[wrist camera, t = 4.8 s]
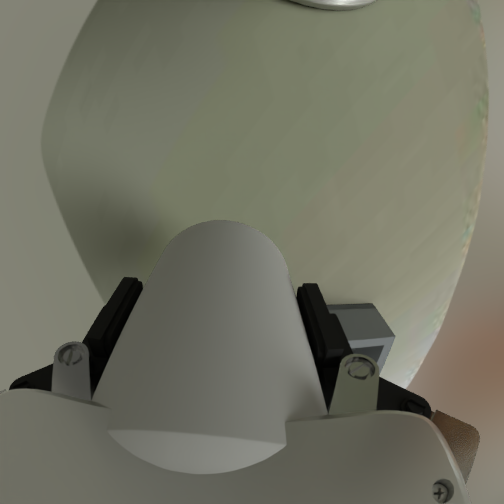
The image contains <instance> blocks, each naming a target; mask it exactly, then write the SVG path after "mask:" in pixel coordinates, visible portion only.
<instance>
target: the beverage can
mask: <svg viewBox="0 0 504 504" xmlns="http://www.w3.org/2000/svg"><path fill="white" fill-rule="evenodd" d="M91 401H94V402H99V403H101V404H103V405H105V406H107V407H109V408H111V409H113V410H112V413H111V417H110V420H109V423H108V427H107V432H108V433H109V434H110V435H111V436H112V437H113V439H114V440H115V441H117V442H118V443H119V444H120V445H121V446H122V447H124V448H125V449H126V450H127V451H129V452H130V453H132V454H133V455H135V456H137V457H138V458H140V459H142V460H144V461H147V462H149V463H151V464H154V465H156V466H158V467H161V468H164V469H167V470H171V471H177V472H183V473H190V474H214V473H224V472H230V471H234V470H238V469H241V468H245V467H248V466H251V465H253V464H256V463H258V462H261V461H263V460H265V459H267V458H269V457H270V456H272V455H274V454H275V453H277V452H278V451H280V450H281V449H283V448H284V447H285V446H286V445H287V442H286V432H285V423H284V422H287V421H291V420H295V419H300V418H304V417H308V416H320V415H328V411H327V408H326V404H325V400H324V396H323V392H322V389H321V385H320V381H319V377H318V374H317V370H316V366H315V363H314V359H313V355H312V352H311V348H310V345H309V341H308V337H307V334H306V330H305V327H304V323H303V320H302V316H301V313H300V309H299V306H298V303H297V299H296V296H295V292H294V289H293V286H292V282H291V279H290V276H289V272H288V269H287V266H286V263H285V260H284V258H283V256H282V254H281V252H280V251H279V249H278V248H277V246H276V245H275V244H274V243H273V242H272V241H271V240H270V239H269V238H268V237H267V236H266V235H264V234H263V233H261V232H260V231H258V230H257V229H255V228H253V227H250V226H248V225H245V224H242V223H239V222H234V221H227V220H213V221H207V222H202V223H199V224H196V225H193V226H191V227H189V228H187V229H185V230H184V231H182V232H181V233H179V234H178V235H177V236H176V237H174V238H173V239H172V240H171V242H170V243H169V244H168V245H167V247H166V248H165V250H164V251H163V253H162V255H161V257H160V259H159V260H158V262H157V264H156V266H155V268H154V270H153V271H152V273H151V275H150V277H149V279H148V281H147V283H146V285H145V286H144V288H143V290H142V292H141V294H140V296H139V298H138V300H137V302H136V304H135V306H134V308H133V310H132V312H131V314H130V316H129V318H128V320H127V322H126V324H125V326H124V328H123V330H122V332H121V335H120V337H119V339H118V341H117V343H116V345H115V347H114V349H113V352H112V354H111V356H110V358H109V361H108V363H107V365H106V367H105V370H104V372H103V374H102V376H101V379H100V381H99V383H98V386H97V388H96V391H95V393H94V396H93V398H92V400H91Z"/></svg>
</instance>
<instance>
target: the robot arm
mask: <svg viewBox="0 0 504 504" xmlns="http://www.w3.org/2000/svg"><path fill="white" fill-rule="evenodd" d="M291 1H294V2H297V3H300V4H303V5H306V6H311V7H316V8H320V9H329V10H353V9H358V8H363V7H365V6H368V5H370V4H372V3H374V2H375V1H377V0H291ZM142 290H143V285H142V282H141V281H138V279H137V278H132V277H124V278H123V279H122V281H121V282H120V284H119V285H118V287H117V288H116V290H115V292H114V293H113V295H112V296H111V298H110V299H109V301H108V303H107V304H106V306H104V307H103V308H102V310H101V312H100V313H99V315H98V317H97V318H96V320H95V321H94V323H93V325H92V326H91V328H90V330H89V331H88V333H87V335H86V336H85V338H84V340H83V342H82V343H81V342H69V343H66V344H64V345H62V346H61V347H59V348H58V350H57V351H56V352H55V355H54V363H53V364H51V365H48V366H47V367H44V368H42V369H39V370H37V371H35V372H32V373H30V374H27V375H25V376H22V377H20V378H18V379H16V380H15V381H14V382H13V383H12V384H11V386H10V388H9V390H8V391H6V390H3V391H0V504H472V502H471V500H470V496H469V493H468V491H467V488H466V482H467V480H468V477H469V474H470V471H471V468H472V465H473V462H474V459H475V456H476V452H477V449H478V445H479V442H480V441H479V440H480V436H479V433H478V431H477V430H476V428H474V427H473V426H471V425H469V424H467V423H465V422H462V421H460V420H458V419H455V418H454V417H451V416H449V415H447V414H445V413H443V412H441V411H438V410H436V411H435V412H433V411H431V407H430V406H429V403H428V402H427V401H426V400H425V399H424V398H422V397H420V396H418V395H416V394H414V393H412V392H410V391H408V390H406V389H404V388H402V387H399V386H397V385H395V384H393V383H391V382H389V381H387V380H385V379H383V378H381V377H379V366H378V365H377V363H376V362H375V361H374V360H373V359H372V358H370V357H368V356H366V355H363V354H353V351H352V349H351V347H350V344H349V342H348V340H347V337H346V335H345V333H344V330H343V328H342V326H341V323H340V321H339V319H338V317H337V315H336V314H335V313H329V310H328V308H327V306H326V303H325V301H324V299H323V296H322V294H321V292H320V289H319V287H318V285H317V284H316V283H304V284H303V285H302V287H298V290H297V297H296V299H297V303H298V306H299V309H300V313H301V316H302V320H303V323H304V327H305V330H306V334H307V337H308V341H309V345H310V348H311V352H312V355H313V359H314V363H315V366H316V370H317V374H318V377H319V381H320V385H321V389H322V392H323V396H324V400H325V404H326V408H327V411H328V415H320V416H308V417H304V418H300V419H295V420H291V421H287V422H284V423H285V432H286V442H287V445H286V446H285V447H284V448H283V449H281V450H280V451H278V452H277V453H275V454H274V455H272V456H270V457H269V458H267V459H265V460H263V461H261V462H258V463H256V464H253V465H251V466H248V467H245V468H241V469H238V470H234V471H230V472H224V473H214V474H190V473H183V472H177V471H171V470H167V469H164V468H161V467H158V466H156V465H154V464H151V463H149V462H147V461H144V460H142V459H140V458H138V457H137V456H135V455H133V454H132V453H130V452H129V451H127V450H126V449H125V448H124V447H122V446H121V445H120V444H119V443H118V442H117V441H115V440H114V439H113V437H112V436H111V435H110V434H109V433H108V432H107V427H108V423H109V420H110V417H111V413H112V410H113V409H111V408H109V407H107V406H105V405H103V404H101V403H99V402H94V401H91V400H92V398H93V396H94V393H95V391H96V388H97V386H98V383H99V381H100V379H101V376H102V374H103V372H104V370H105V367H106V365H107V363H108V361H109V358H110V356H111V354H112V352H113V349H114V347H115V345H116V343H117V341H118V339H119V337H120V335H121V332H122V330H123V328H124V326H125V324H126V322H127V320H128V318H129V316H130V314H131V312H132V310H133V308H134V306H135V304H136V302H137V300H138V298H139V296H140V294H141V292H142Z"/></svg>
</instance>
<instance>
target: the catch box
mask: <svg viewBox="0 0 504 504" xmlns="http://www.w3.org/2000/svg"><path fill="white" fill-rule="evenodd" d="M326 306H327V308H328V310H329V313H335V314H336V315H337V317H338V319H339V321H340V323H341V326H342V328H343V330H344V333H345V335H346V337H347V340H348V342H349V344H350V347H351V349H352V351H353V354H363V355H366V356H368V357H370V358H372V359H373V360H374V361H375V362H376V363H377V365H378V366H379V375H380V372H381V370H382V368H383V366H384V363H385V361H386V359H387V356H388V354H389V351H390V349H391V347H392V344H393V342H394V339H395V335H394V333H393V332H392V331H391V329H390V328H389V326H388V325H387V323H386V322H385V320H384V319H383V317H382V316H381V315H380V313H379V312H378V310H377V309H376V307H375V306H374V305H373V304H346V305H326Z"/></svg>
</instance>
